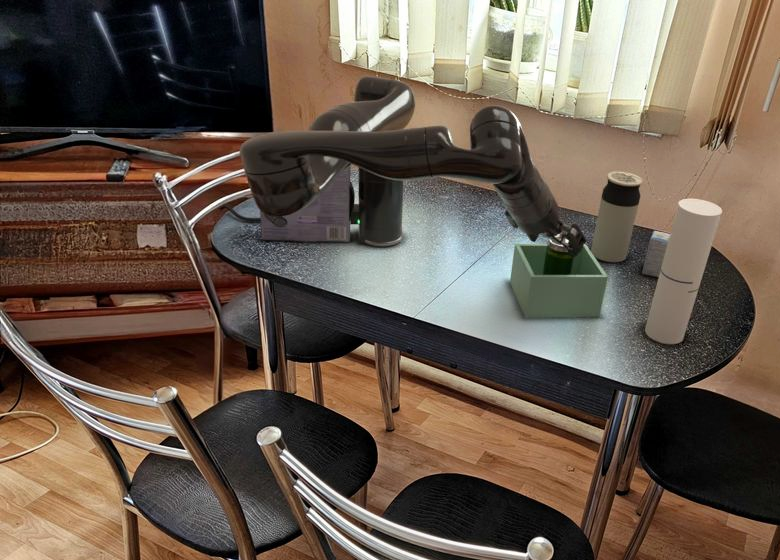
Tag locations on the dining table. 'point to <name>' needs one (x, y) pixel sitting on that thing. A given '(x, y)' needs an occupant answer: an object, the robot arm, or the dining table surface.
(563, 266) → the beer can
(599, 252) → the travel mug
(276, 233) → the cake pan box
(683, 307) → the cylindrical container
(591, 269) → the bin
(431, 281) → the dining table surface
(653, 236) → the medicine box
